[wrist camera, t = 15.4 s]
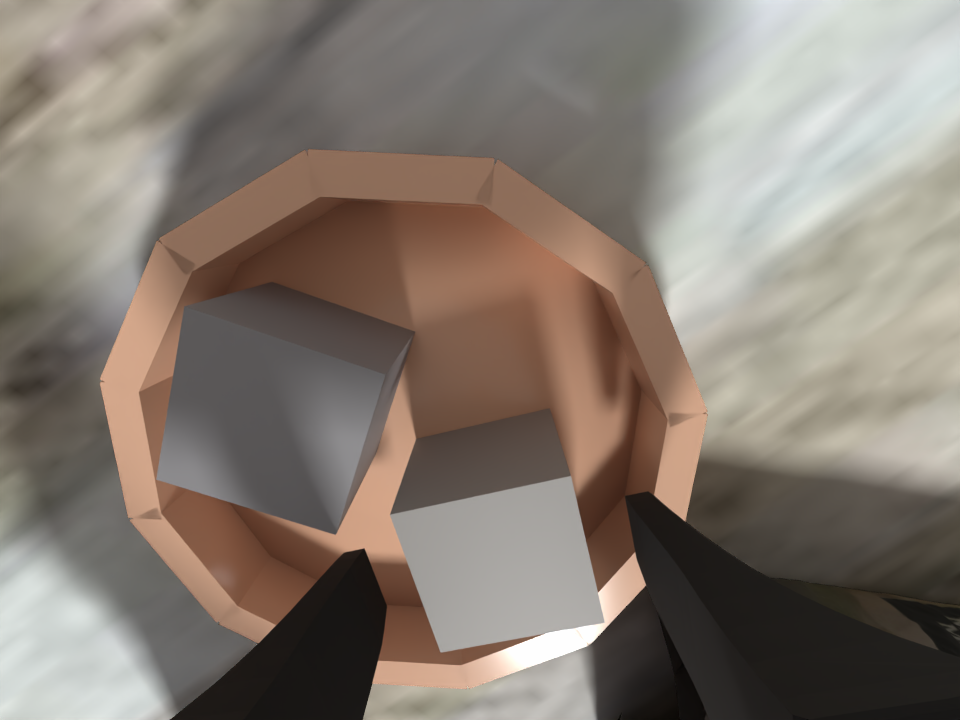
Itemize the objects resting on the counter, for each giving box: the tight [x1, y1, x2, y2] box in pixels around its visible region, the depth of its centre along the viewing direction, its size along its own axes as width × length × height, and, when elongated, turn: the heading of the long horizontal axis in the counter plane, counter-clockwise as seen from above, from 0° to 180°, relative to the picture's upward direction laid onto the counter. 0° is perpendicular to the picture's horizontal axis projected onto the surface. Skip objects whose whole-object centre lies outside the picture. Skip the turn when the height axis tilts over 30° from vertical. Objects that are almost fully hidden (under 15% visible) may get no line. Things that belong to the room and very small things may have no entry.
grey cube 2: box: [390, 408, 605, 653], centre depth 13 cm, size 4×4×4 cm
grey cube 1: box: [156, 282, 415, 535], centre depth 12 cm, size 4×4×4 cm
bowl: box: [100, 149, 708, 689], centre depth 14 cm, size 16×16×3 cm
